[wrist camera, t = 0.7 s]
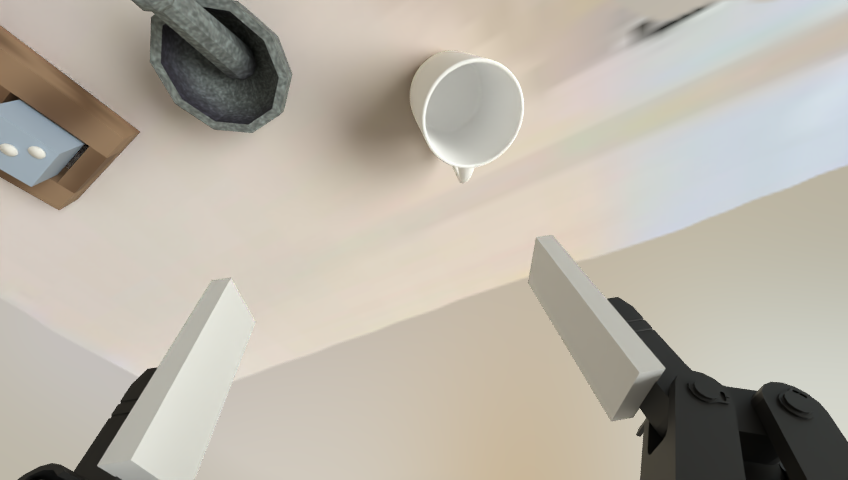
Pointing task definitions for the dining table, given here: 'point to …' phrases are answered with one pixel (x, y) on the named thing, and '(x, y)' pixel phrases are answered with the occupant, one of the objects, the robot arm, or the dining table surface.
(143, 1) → the mortar and pestle
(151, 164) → the dining table surface
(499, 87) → the mug
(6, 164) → the button block
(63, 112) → the button board
